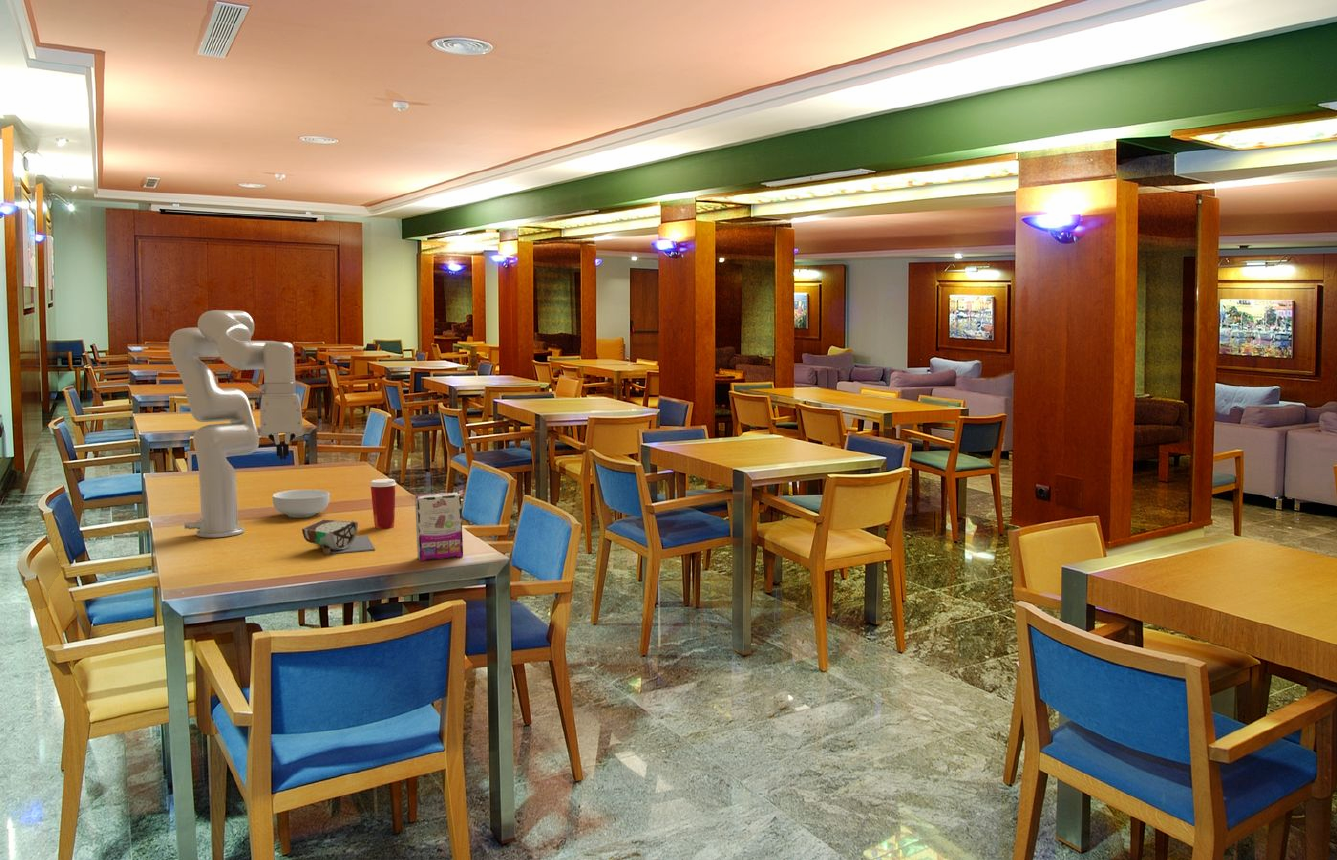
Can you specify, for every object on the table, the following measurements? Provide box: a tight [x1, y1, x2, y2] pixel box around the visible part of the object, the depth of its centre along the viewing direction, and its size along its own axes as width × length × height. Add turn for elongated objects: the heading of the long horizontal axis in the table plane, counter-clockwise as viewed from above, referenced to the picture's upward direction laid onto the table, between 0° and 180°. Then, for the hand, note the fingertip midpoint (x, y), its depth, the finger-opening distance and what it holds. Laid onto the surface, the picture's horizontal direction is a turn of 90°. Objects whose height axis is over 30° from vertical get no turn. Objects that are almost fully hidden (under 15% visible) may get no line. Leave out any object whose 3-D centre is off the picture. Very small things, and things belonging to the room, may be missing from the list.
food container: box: [301, 519, 359, 550], centre depth 260 cm, size 12×6×10 cm
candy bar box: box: [414, 492, 464, 562], centre depth 251 cm, size 11×5×16 cm, turn 114°
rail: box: [320, 545, 331, 556], centre depth 263 cm, size 2×18×2 cm, turn 23°
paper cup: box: [369, 478, 397, 530], centre depth 290 cm, size 8×8×14 cm
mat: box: [330, 535, 376, 555], centre depth 266 cm, size 11×18×1 cm, turn 23°
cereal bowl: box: [272, 489, 331, 519], centre depth 308 cm, size 17×17×7 cm
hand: (282, 458), depth 257 cm, fingers closed
